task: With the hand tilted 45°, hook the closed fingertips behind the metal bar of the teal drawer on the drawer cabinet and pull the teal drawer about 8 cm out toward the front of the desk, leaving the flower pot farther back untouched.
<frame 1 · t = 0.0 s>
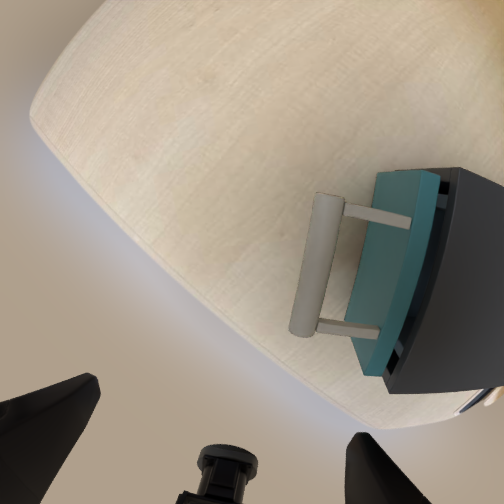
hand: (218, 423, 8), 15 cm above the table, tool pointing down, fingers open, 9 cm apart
teal drawer: (433, 274, 15), point 5 cm above the table, slide at 0.5 cm
drawer cabinet: (450, 265, 20), on the table
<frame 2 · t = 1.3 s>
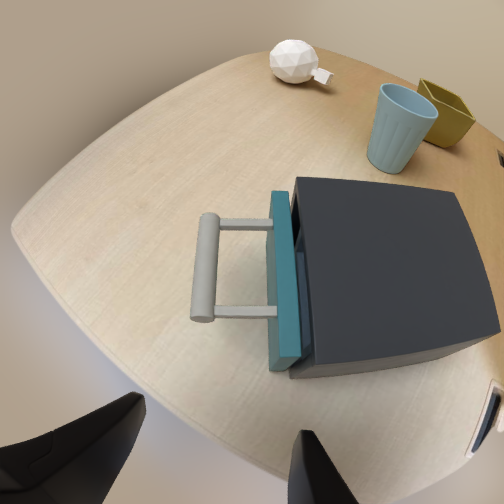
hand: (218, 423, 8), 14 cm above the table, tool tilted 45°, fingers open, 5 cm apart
cup: (384, 161, 34), on the table
flower pot: (429, 137, 39), on the table
teal drawer: (329, 284, 20), point 5 cm above the table, slide at 0.5 cm
drawer cabinet: (364, 303, 24), on the table
perfume bottle: (296, 84, 45), on the table
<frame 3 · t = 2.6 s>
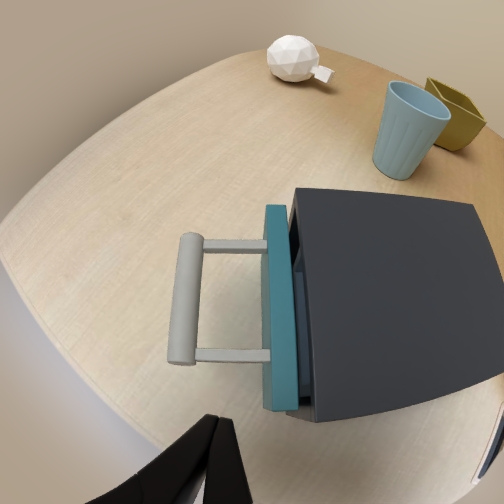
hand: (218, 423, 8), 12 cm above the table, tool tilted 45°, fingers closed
cup: (391, 166, 31), on the table
flower pot: (437, 139, 36), on the table
teal drawer: (333, 313, 17), point 5 cm above the table, slide at 0.5 cm
drawer cabinet: (371, 328, 21), on the table
perfume bottle: (295, 83, 42), on the table
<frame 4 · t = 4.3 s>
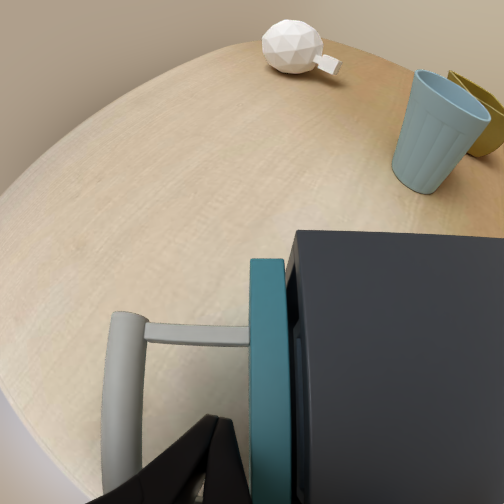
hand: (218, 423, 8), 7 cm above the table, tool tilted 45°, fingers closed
cup: (413, 175, 25), on the table
flower pot: (459, 143, 29), on the table
teal drawer: (350, 413, 10), point 5 cm above the table, slide at 0.3 cm, touching gripper
drawer cabinet: (390, 401, 14), on the table
perfume bottle: (296, 75, 35), on the table
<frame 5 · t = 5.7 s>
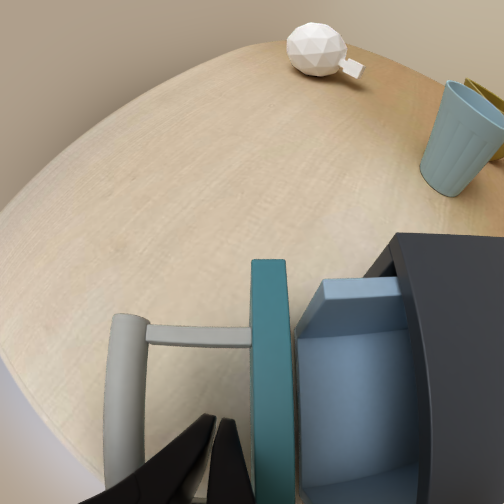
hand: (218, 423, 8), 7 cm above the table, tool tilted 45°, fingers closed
cup: (439, 179, 25), on the table
flower pot: (474, 147, 30), on the table
teal drawer: (352, 413, 10), point 5 cm above the table, slide at 4.2 cm, touching gripper
drawer cabinet: (437, 388, 14), on the table
perfume bottle: (319, 78, 35), on the table
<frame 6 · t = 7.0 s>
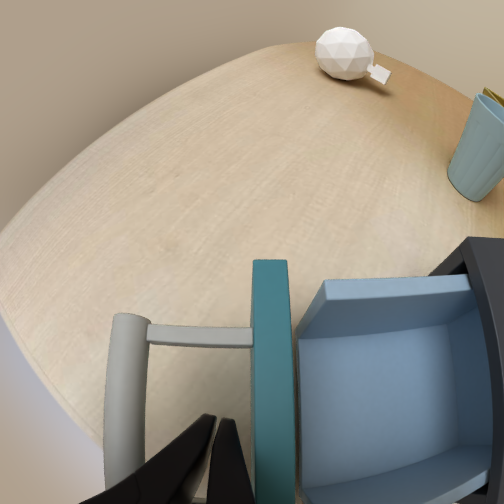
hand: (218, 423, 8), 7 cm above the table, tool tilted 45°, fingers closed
cup: (464, 184, 25), on the table
flower pot: (490, 153, 30), on the table
teal drawer: (352, 413, 10), point 5 cm above the table, slide at 8.2 cm, touching gripper
drawer cabinet: (474, 377, 14), on the table
perfume bottle: (346, 81, 35), on the table
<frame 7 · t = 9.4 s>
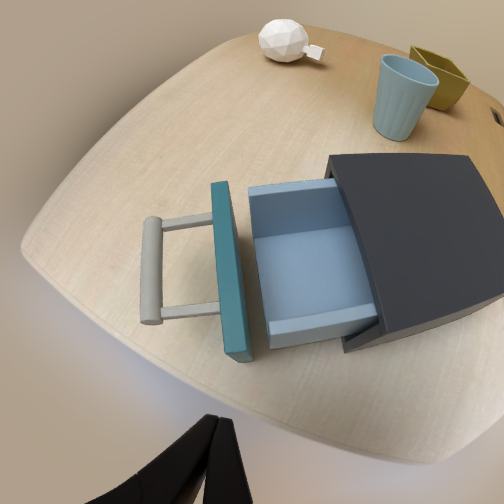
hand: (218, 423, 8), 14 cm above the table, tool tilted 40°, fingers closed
cup: (390, 129, 33), on the table
flower pot: (426, 101, 37), on the table
teal drawer: (284, 269, 20), point 5 cm above the table, slide at 7.3 cm
drawer cabinet: (399, 269, 24), on the table
perfume bottle: (289, 63, 42), on the table
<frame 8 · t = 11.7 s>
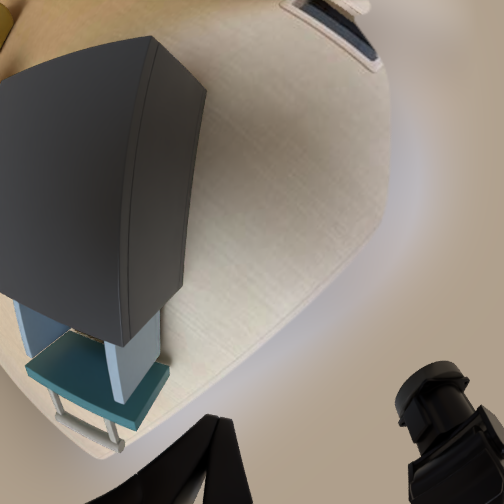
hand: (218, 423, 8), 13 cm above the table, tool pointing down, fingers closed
flower pot: (2, 38, 17), on the table
teal drawer: (87, 339, 18), point 5 cm above the table, slide at 7.3 cm
drawer cabinet: (117, 181, 20), on the table
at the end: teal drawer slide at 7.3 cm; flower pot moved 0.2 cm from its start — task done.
